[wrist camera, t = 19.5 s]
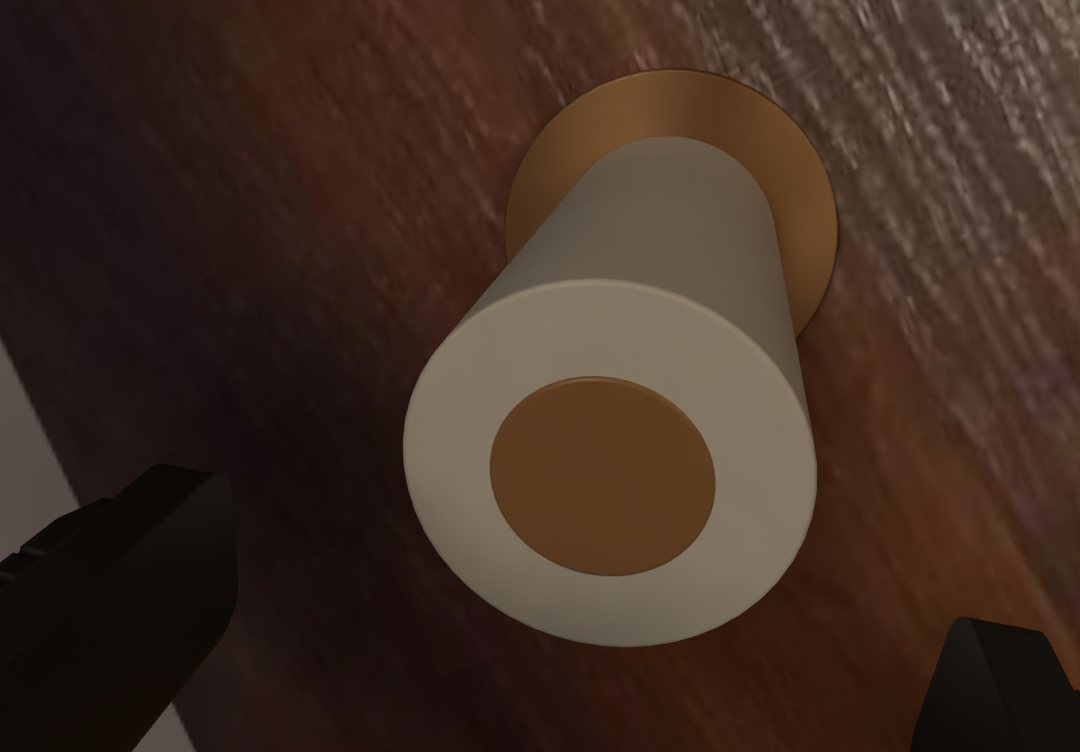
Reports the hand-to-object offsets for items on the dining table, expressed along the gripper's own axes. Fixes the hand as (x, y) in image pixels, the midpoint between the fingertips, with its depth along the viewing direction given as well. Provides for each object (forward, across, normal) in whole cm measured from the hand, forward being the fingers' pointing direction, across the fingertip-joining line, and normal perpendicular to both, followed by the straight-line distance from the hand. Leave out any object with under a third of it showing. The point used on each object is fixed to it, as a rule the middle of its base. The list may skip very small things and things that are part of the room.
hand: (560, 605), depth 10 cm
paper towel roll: (+9, 0, 0) cm, 9 cm away
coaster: (+16, 0, 0) cm, 16 cm away
